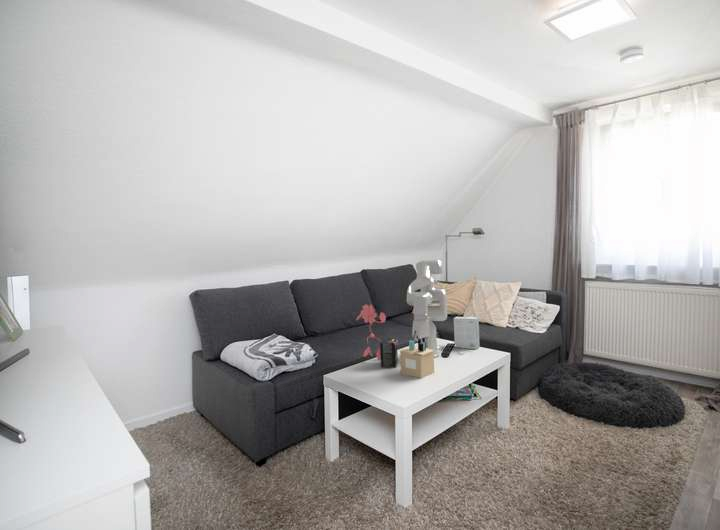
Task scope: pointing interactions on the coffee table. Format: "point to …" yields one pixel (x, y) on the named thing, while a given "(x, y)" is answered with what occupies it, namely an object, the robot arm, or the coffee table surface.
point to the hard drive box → (466, 332)
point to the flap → (423, 350)
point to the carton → (416, 362)
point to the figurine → (369, 317)
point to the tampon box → (388, 353)
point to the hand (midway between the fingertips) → (422, 350)
